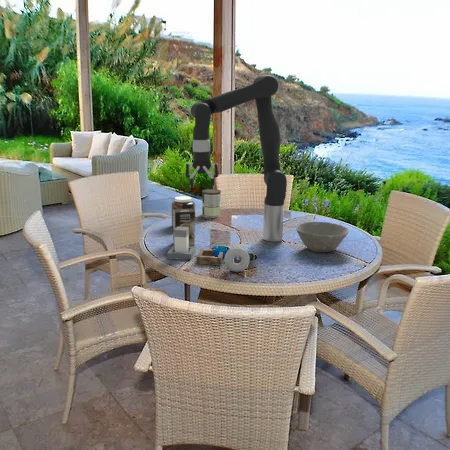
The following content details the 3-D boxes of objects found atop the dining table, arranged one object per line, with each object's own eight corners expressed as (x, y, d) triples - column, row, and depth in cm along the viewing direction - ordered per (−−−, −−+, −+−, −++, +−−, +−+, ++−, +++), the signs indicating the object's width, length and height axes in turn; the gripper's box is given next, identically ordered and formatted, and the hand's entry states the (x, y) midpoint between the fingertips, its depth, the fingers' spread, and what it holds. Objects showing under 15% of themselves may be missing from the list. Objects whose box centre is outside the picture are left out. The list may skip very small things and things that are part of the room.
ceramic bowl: (286, 244, 230) (287, 223, 227) (329, 240, 237) (331, 220, 235) (311, 260, 210) (312, 237, 207) (357, 255, 217) (359, 233, 215)
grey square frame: (195, 252, 217) (195, 246, 216) (191, 259, 207) (191, 254, 207) (172, 250, 218) (172, 245, 217) (167, 258, 208) (167, 252, 208)
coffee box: (175, 247, 223) (175, 212, 219) (172, 242, 229) (172, 208, 225) (195, 245, 225) (195, 211, 221) (192, 241, 231) (192, 207, 227)
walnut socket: (223, 256, 212) (223, 250, 211) (220, 265, 202) (221, 258, 201) (200, 255, 213) (200, 248, 212) (196, 263, 203) (196, 256, 202)
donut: (249, 270, 197) (249, 246, 195) (249, 273, 194) (250, 248, 191) (223, 269, 197) (224, 245, 194) (224, 272, 194) (224, 248, 191)
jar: (185, 230, 248) (185, 201, 244) (167, 227, 254) (166, 198, 249) (199, 225, 257) (199, 197, 253) (181, 222, 263) (180, 194, 259)
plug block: (188, 253, 215) (188, 227, 211) (186, 257, 210) (186, 230, 207) (177, 253, 215) (177, 226, 212) (174, 257, 210) (174, 229, 207)
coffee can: (198, 215, 278) (198, 190, 274) (212, 212, 284) (213, 188, 280) (209, 218, 270) (209, 193, 266) (224, 216, 277) (224, 191, 273)
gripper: (218, 148, 218) (219, 185, 222) (186, 148, 219) (187, 184, 224) (217, 151, 211) (217, 188, 215) (183, 151, 212) (185, 188, 217)
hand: (202, 186), depth 219 cm, fingers open, 8 cm apart
